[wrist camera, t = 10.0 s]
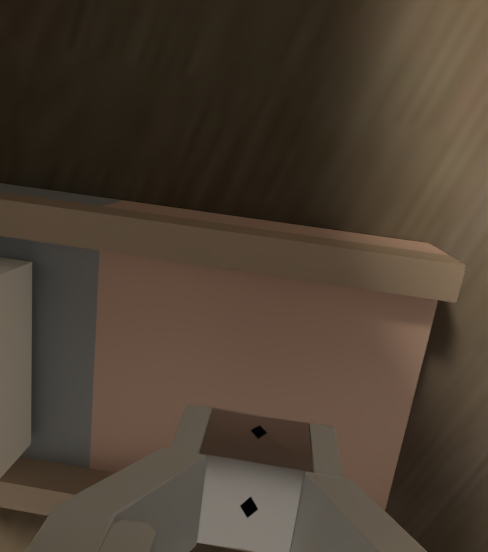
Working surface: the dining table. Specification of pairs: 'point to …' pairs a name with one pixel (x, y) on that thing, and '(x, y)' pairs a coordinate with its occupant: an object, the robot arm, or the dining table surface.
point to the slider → (15, 359)
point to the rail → (210, 333)
